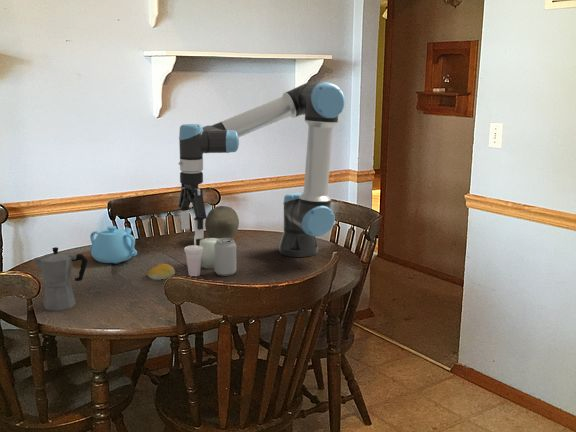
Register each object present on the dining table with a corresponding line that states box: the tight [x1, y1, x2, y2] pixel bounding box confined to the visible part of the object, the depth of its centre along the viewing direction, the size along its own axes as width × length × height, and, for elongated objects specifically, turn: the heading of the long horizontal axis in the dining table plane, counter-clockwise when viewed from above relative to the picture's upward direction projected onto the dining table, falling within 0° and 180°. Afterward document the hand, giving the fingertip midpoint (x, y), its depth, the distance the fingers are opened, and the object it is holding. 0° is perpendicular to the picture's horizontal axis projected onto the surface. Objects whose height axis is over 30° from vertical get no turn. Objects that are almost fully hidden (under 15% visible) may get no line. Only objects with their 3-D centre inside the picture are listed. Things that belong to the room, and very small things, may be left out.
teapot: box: [89, 225, 138, 265], centre depth 233 cm, size 20×20×13 cm
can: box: [214, 238, 237, 277], centre depth 217 cm, size 8×8×12 cm
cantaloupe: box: [204, 205, 240, 239], centre depth 254 cm, size 14×14×15 cm
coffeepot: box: [32, 247, 89, 312], centre depth 186 cm, size 15×9×18 cm, turn 101°
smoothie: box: [183, 234, 203, 277], centre depth 214 cm, size 6×6×14 cm
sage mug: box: [199, 237, 218, 269], centre depth 226 cm, size 10×8×9 cm
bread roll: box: [147, 263, 176, 281], centre depth 214 cm, size 8×9×4 cm
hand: (192, 233), depth 212 cm, fingers open, 13 cm apart
